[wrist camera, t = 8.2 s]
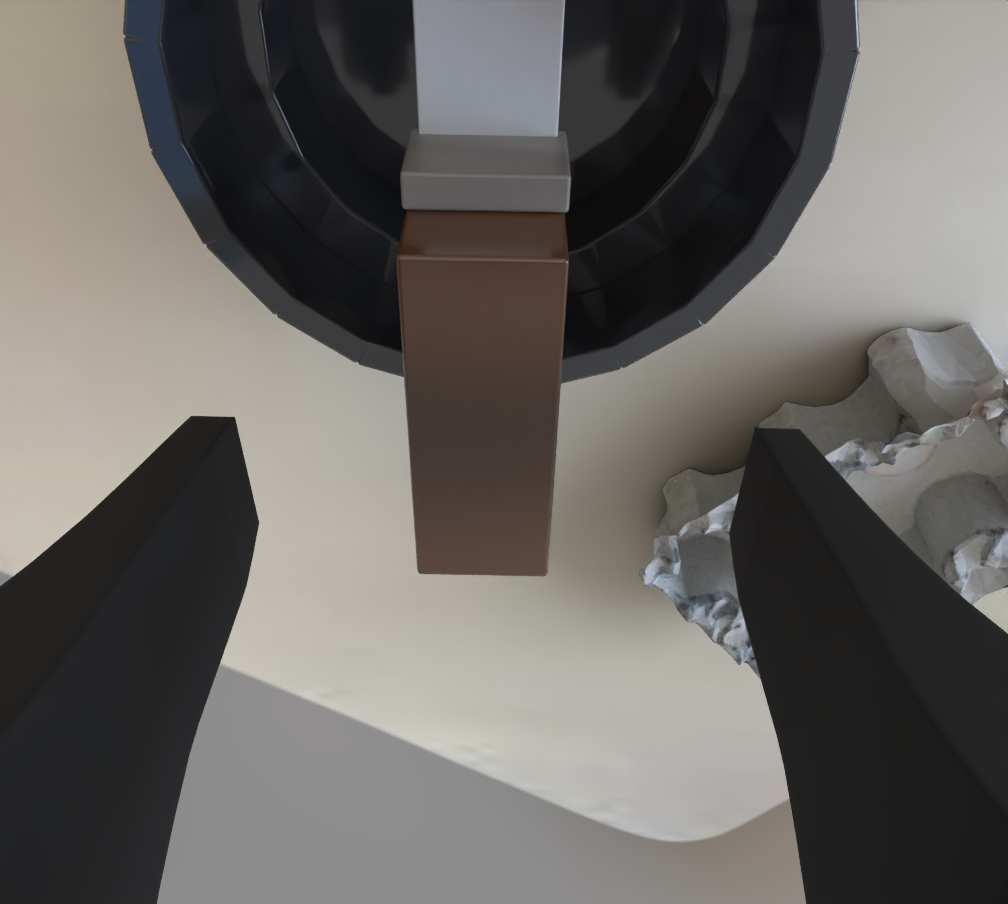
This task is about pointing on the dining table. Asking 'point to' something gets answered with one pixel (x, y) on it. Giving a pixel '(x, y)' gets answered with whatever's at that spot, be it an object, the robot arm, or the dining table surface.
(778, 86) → the bowl
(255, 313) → the dining table surface
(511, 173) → the knife
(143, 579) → the robot arm
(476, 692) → the dining table surface
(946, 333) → the egg carton
